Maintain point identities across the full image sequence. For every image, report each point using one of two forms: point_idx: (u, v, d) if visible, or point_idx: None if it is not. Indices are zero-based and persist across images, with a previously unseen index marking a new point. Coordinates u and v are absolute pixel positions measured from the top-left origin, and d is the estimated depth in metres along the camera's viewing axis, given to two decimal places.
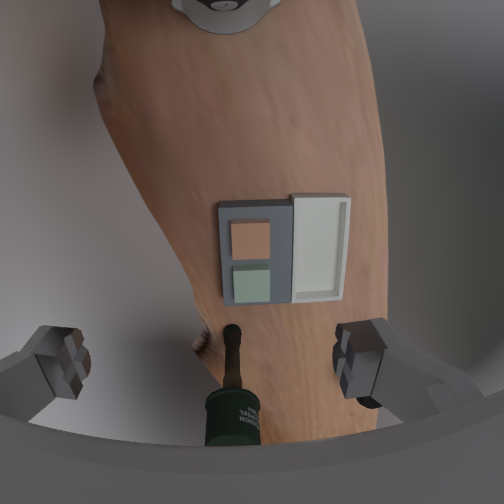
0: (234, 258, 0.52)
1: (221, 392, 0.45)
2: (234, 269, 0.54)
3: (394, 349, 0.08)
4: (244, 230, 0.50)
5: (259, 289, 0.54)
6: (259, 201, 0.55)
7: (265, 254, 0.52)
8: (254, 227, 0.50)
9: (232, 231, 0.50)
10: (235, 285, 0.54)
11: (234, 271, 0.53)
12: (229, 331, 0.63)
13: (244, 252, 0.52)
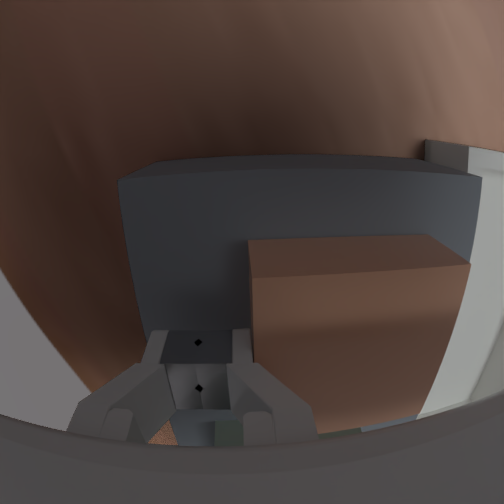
0: None
1: None
2: None
3: (238, 364, 0.07)
4: (337, 315, 0.08)
5: None
6: (323, 157, 0.12)
7: (408, 404, 0.09)
8: (396, 294, 0.07)
9: (260, 323, 0.08)
10: None
11: None
12: None
13: (318, 413, 0.09)
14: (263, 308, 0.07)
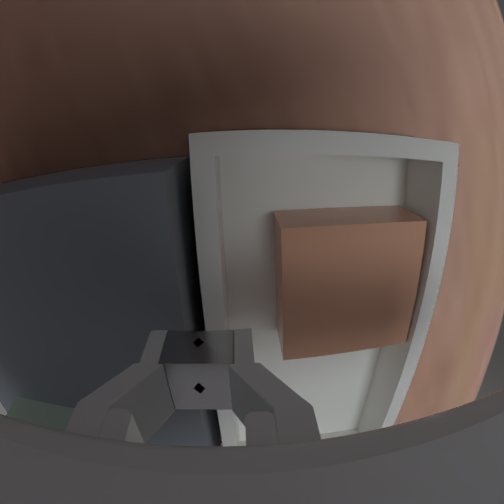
0: None
1: None
2: None
3: (240, 364, 0.07)
4: None
5: None
6: (70, 172, 0.12)
7: None
8: None
9: None
10: None
11: None
12: None
13: None
14: None
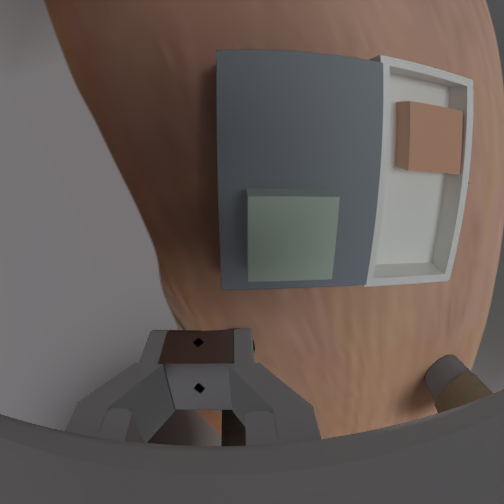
0: None
1: None
2: (250, 194, 0.21)
3: (239, 364, 0.07)
4: None
5: (310, 247, 0.22)
6: None
7: None
8: None
9: None
10: (251, 235, 0.21)
11: (250, 197, 0.20)
12: None
13: None
14: None
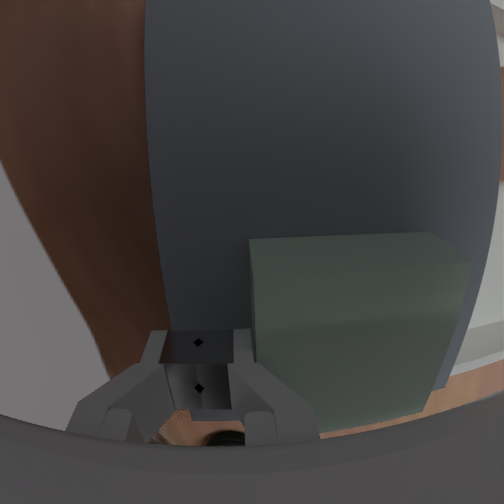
0: None
1: None
2: (260, 264, 0.08)
3: (239, 364, 0.07)
4: None
5: (398, 371, 0.09)
6: None
7: None
8: None
9: None
10: (266, 366, 0.08)
11: (262, 278, 0.07)
12: None
13: None
14: None
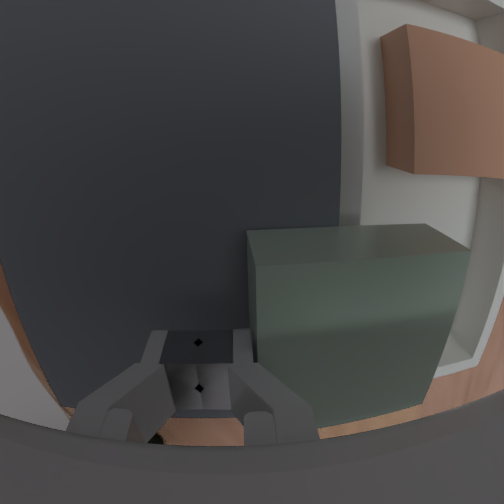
0: None
1: None
2: (261, 254, 0.08)
3: (238, 364, 0.07)
4: None
5: (398, 362, 0.09)
6: None
7: None
8: None
9: None
10: (267, 359, 0.08)
11: (264, 268, 0.07)
12: None
13: None
14: None
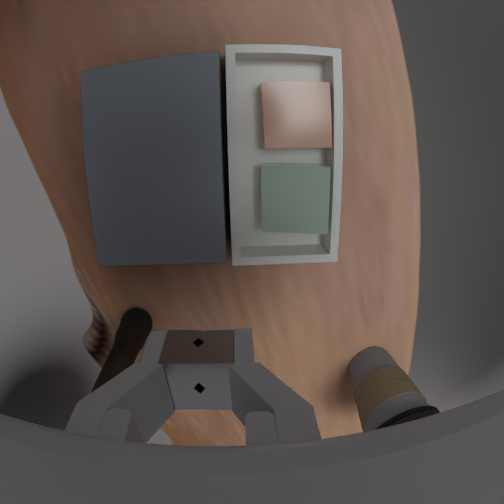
0: None
1: None
2: (327, 165, 0.28)
3: (240, 364, 0.07)
4: None
5: None
6: None
7: None
8: None
9: None
10: None
11: (327, 165, 0.29)
12: (126, 319, 0.33)
13: None
14: None
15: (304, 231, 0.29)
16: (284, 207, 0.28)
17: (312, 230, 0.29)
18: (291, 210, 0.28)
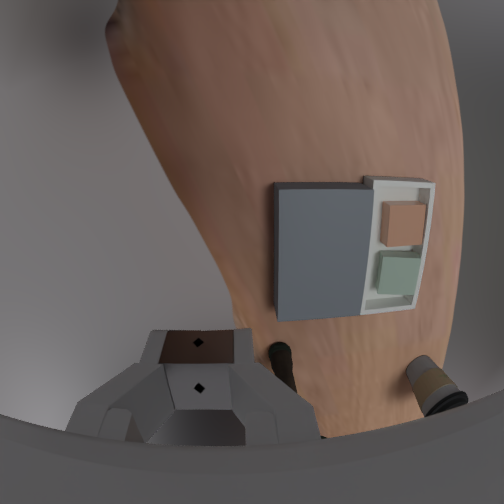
0: None
1: None
2: (416, 253, 0.44)
3: (240, 364, 0.07)
4: None
5: None
6: (327, 183, 0.41)
7: None
8: None
9: None
10: None
11: (415, 252, 0.44)
12: (278, 352, 0.49)
13: None
14: None
15: (401, 293, 0.45)
16: (392, 280, 0.44)
17: (406, 293, 0.44)
18: (396, 282, 0.44)
